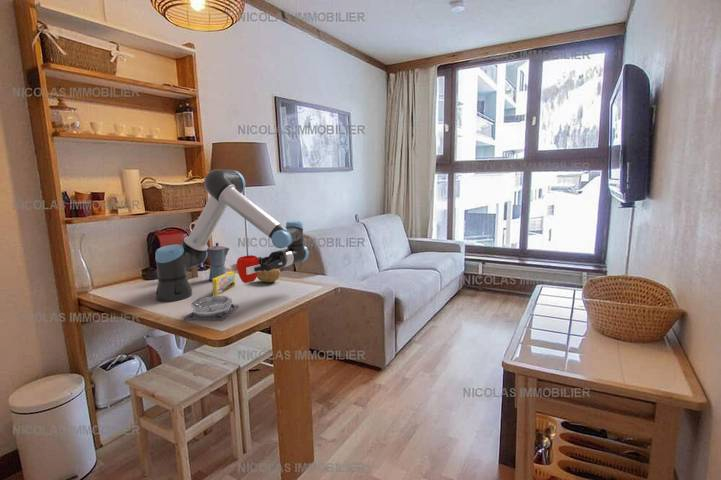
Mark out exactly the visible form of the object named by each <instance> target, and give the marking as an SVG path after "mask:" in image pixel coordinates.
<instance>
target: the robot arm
mask: <svg viewBox="0 0 721 480" xmlns="http://www.w3.org/2000/svg"><path fill="white" fill-rule="evenodd" d="M203 184H204V187H205V190H206V192H207V193H208V194H209V195H210V196H209V198H208V200H207V202H206V204H205V206H204V207H203V210H202V211H201V213H200V215H199V217H198V219H197V221H196V223H195V224H194V227H193V228H192V230H191V232H190V234H189V235H188V236H185V237H184V238H183V240H182V242H181V244H178V243H177V244H169V245H164V246H161V247H159V248H157V249H156V251H155V254H154V255H155V258H154V259H155V265H156V273H157V281H158V282H157V287H156V291H155V300H156V301H157V302H162V303H163V302H175V301H180V300H184V299H187V298H189V297H191V296H192V295H193V290H192V289H193V288H192V287H191V285H190V283H189V281H188V279H187V278H186V272H187V271H188V269H190V268H193V267H196V266H197V267H198V266H200V265H201V264H204V261H206V260H207V258H208V255H209V253H208V251H207V249H208V247H209V245H208V243H209V240H210V238H211V237H212V235H213V233H214V230H216V227H217V226H218V223H219V222H220V220H221V218H222V216H223V214H224V213H225V211H226V208H227V207H229V208H230V209H232V210H233V211H234V212H236V214H238V215H239V216H240V217H242V218H243V219H245V220H246V221H247V222H249V223H250V224H251V225H252V226H253V227H255V228H256V229H258V230H259V231H260V232H261V233H263V234H264V235H265V236H267V237H268V238H269V239H270V240H271V243H272V244H273V246H274V247H275V248H277V249H281V250H276V251H272V252H271V253H269V256H264V257H261V256H259V257H257V258H258V259H259V264H258V265H255V266H251V267H247V268H246V273H247V275H249V274H252V273H256V272H259V271H261V270H262V271H265V270H266V271H270V270H272V269H281V268H284V267H285V268H287V267H288V266H291V265H296V264H301V263H302V262H305V261H307V260H308V258H309V256H310V251H309V250H308V247H307V246H305V245H304V225H303V222H302V221H300V220H291V221H287V222H286V223H285V226H284V225H283V224H281V223H280V222H278V220H276V219H275V218H274V217H272V215H270V214H269V213H267V212H266V211H265V210H264V209H263V208H261V207H260V206H258V205H257V204H255V203H254V202H253V201H251V200H250V199H249V198H247V196H245V195H243V192H244V190H245V189H246V180H245V178H244V176H243V174H241V173H240V172H239V171H237V170H234V169H218V168H217V169H212V170H211V171H209V172H208V173H206V175H205V177H204V182H203ZM230 271H231V272H233V271H234V272H236V271H237V272H238V270H237V263H232V264H230Z"/></svg>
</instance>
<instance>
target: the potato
mask: <svg viewBox="0 0 721 480" xmlns="http://www.w3.org/2000/svg"><path fill="white" fill-rule="evenodd" d="M280 276H281V270H280V268H278V269H272V270H270V271H266V270H265V271H262V270H261V271H259V272H258V275H257V277H256V279H258V280H259V281H260V282H263V283H267V284H268V283H274V282H275V281H277V280H279V278H280Z"/></svg>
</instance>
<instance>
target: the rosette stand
mask: <svg viewBox="0 0 721 480" xmlns="http://www.w3.org/2000/svg"><path fill="white" fill-rule="evenodd" d="M190 304H191V305H190V306H191V309H192V312H191V313H188V315H187V316H184V318H183V319H184V321H215V320H216V321H217V322H218V321H221V322H222V321H224V320H225V319H226V318H227V317H229V316H230V315H231V314H232V313H234V312H235V311H236V310H237V309H238V308H240V307H239V304H235V303H233V299H232V298H231V297H229V296H228V295H218V296H213V295H212V296H207V297H202V298H198V299H196V300H194V301H193V302H192V303H190Z"/></svg>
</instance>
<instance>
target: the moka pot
mask: <svg viewBox="0 0 721 480" xmlns="http://www.w3.org/2000/svg"><path fill="white" fill-rule="evenodd" d="M229 250H230V247H227V246H222V245H221V246H220V245H219V242H216V243H215V245H214V246H208V249H207V252H208V259H209V262H207V261H206V260H205V261H204V262H203V264H205V265H209V264H210V268H209V277H208V279H209V281H211V282H212V279H213V278H216V277H218V276H221V275H223V274H225V273H227V272H226V265H225V262H226V257H227V255H228V252H229Z"/></svg>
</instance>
